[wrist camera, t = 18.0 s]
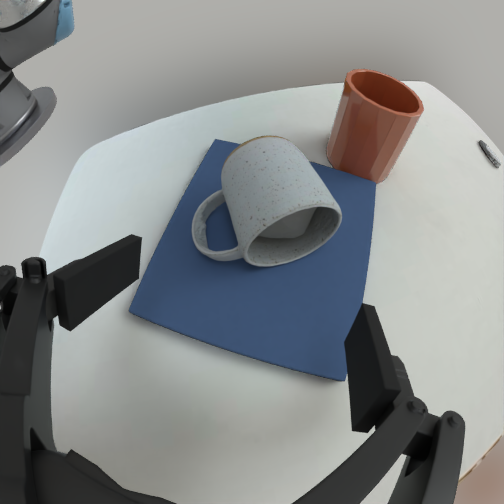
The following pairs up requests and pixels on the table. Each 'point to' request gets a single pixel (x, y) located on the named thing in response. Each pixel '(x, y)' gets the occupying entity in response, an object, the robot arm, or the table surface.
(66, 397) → the table surface
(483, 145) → the oval pebble
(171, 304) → the blue mat
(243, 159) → the ceramic mug
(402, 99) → the clay cup
